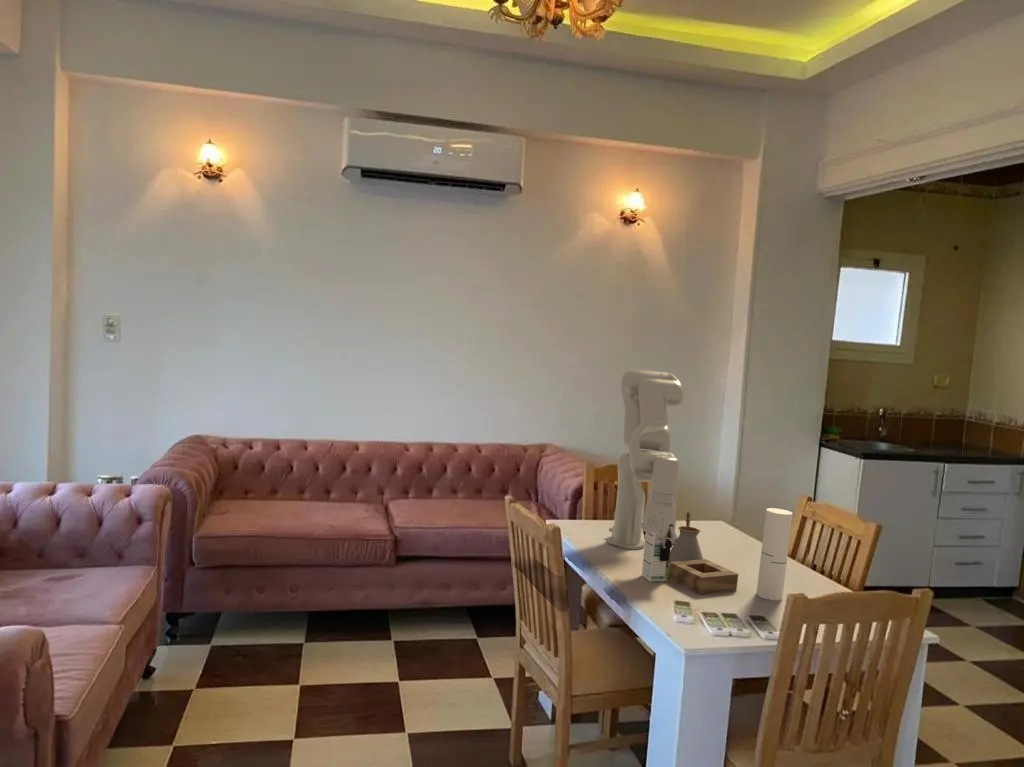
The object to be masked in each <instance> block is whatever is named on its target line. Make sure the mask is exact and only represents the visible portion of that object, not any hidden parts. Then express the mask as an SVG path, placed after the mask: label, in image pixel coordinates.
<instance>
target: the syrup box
mask: <svg viewBox="0 0 1024 767" xmlns="http://www.w3.org/2000/svg"><path fill="white" fill-rule="evenodd" d="M666 537H668V535H667V536H666ZM665 541H666V543H667V539H665ZM644 542H645V546H644V547H643V560H642V567H641V568H642V569H641V570H642V571H641V575H642V577H643V578H644V579H645V580H647V581H649V582H667V581H668V573H669V561H660V560H659V559H660V549H661V548H662V542H661V539H659V538H657V537H656V534H655V533H654V532H653V533H651V534H648V533H646V535H645V539H644Z"/></svg>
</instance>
